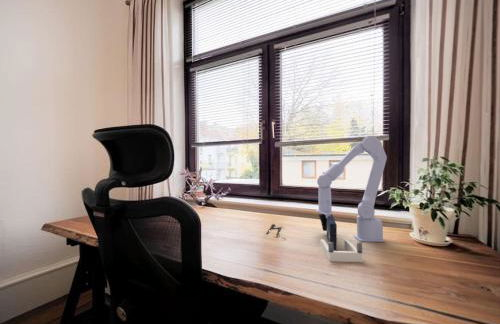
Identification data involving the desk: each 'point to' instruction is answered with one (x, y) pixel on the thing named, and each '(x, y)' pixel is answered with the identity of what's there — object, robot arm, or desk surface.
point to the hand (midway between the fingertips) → (325, 230)
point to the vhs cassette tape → (332, 231)
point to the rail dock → (343, 252)
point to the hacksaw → (277, 231)
